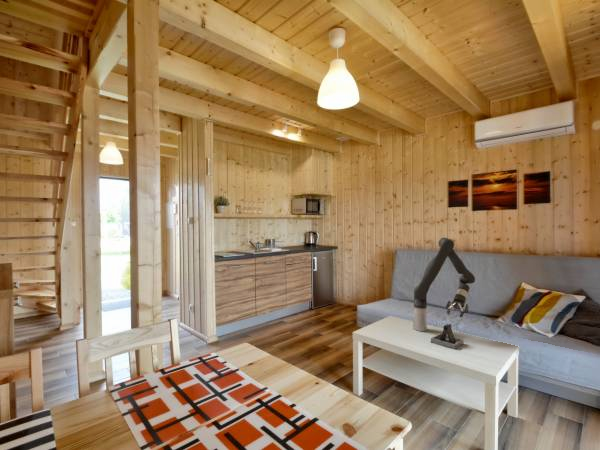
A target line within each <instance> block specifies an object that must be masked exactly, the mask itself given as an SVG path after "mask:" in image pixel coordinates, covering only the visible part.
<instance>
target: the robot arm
mask: <svg viewBox="0 0 600 450" xmlns="http://www.w3.org/2000/svg"><path fill="white" fill-rule="evenodd" d="M438 247H439V250H438V251H437V253H436V254H435V256H434V257H433V258H432V259H431V260H430V261H429V262H428V264H427V266H426V268H425V270H424V272H423V274H422V278H421V281H420V282H419V284H418V285H417V286H416V287H414V289H413V316H412V329H413V330H414V331H418V332H427V330H428V326H427V325H428V315H427V314H428V311H427V310H428V308H427V306H428V305H427V304H428V303H427V299H428V296H427V294H428V292H429V289H430V287H431V286H432V284H433V282H434V281H435V280H436V278H437V277H438V275H439V273H440V271H441V269H442V267H443V265H444V264H445V262H446V260H447V258H448V259H449V261H450V262H451V264H452V267H454V269H455V271H456V273H457V274H458V275H460V276H459V278H458V279H459V281H458V284H459V285H458V288H457V291H456V292H455V295H454V298H453V301H450V300H448V301H447V303H446V305H445V308H446V314H447V315H450V314H451V311H452V310H455V309H456V310H460V312H459V318H463V317H464V314H468V312H469V308H470V307H469V303H466V301H467V299H468V295H469V294H468V293H469V292H470V285H469V284H474V283H475V282H476V277H475V275H474V274H473V273H472V272H471V271H470V270H469V269H468V268H467V267H466V265H465V264H464V261H463V260H462V259H461V258H460V257H459V255H458V254H457V253H456V252H455V249H454V248H455V243H454V241H453V240H452V239H451V238H448V237H441V238H440V239H439V240H438ZM463 308H464V309H463Z"/></svg>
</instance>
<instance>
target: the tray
mask: <svg viewBox="0 0 600 450" xmlns="http://www.w3.org/2000/svg"><path fill="white" fill-rule="evenodd" d="M441 335H442V333H438V334H435V335H434V336H432V337H431V338H430V343H431V344H434V345H438V346H441V347H445V348H448V349H452V350H456V349H458V348H459V347H461V346H463V345H464V339H463V338H459V337H455V336H454V337H455V340H456V343H455V344H452V343H448V342H444V341H441V340H440V338H441ZM446 340H449V338H448V334H447V336H446Z"/></svg>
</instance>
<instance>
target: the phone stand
mask: <svg viewBox="0 0 600 450" xmlns="http://www.w3.org/2000/svg"><path fill="white" fill-rule="evenodd" d="M442 329H443V330H442V333H441V334H442V335H441V338H440V340H441V341H444V342H448V343H452V344H455V343H456V340H455V335H454V332H453V330H452V324H451V323H447V324H445V325H444V326H443V328H442ZM447 335H448V338H449V340H446V336H447Z"/></svg>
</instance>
